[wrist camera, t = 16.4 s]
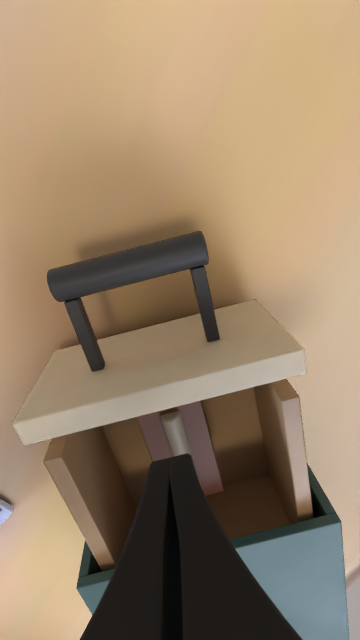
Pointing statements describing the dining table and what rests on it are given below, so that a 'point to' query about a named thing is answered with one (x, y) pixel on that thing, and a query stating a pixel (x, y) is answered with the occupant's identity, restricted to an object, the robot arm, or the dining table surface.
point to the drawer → (169, 401)
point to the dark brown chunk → (183, 441)
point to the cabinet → (279, 570)
